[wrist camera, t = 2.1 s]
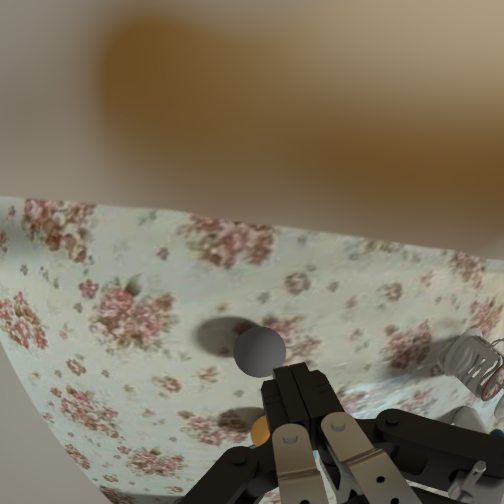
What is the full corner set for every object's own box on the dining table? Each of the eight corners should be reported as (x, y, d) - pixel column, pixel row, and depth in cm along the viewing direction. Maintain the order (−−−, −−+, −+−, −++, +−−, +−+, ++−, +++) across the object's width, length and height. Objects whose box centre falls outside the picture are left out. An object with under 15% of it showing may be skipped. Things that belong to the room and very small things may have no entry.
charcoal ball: (259, 365, 35) (267, 394, 30) (222, 344, 34) (224, 373, 29) (289, 332, 34) (302, 359, 29) (251, 308, 33) (259, 334, 28)
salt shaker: (473, 404, 47) (505, 438, 35) (456, 424, 48) (486, 459, 36) (463, 401, 46) (497, 439, 33) (445, 422, 47) (477, 461, 34)
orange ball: (270, 435, 39) (277, 463, 34) (240, 424, 38) (244, 453, 33) (295, 413, 38) (305, 441, 33) (265, 400, 37) (272, 430, 32)
